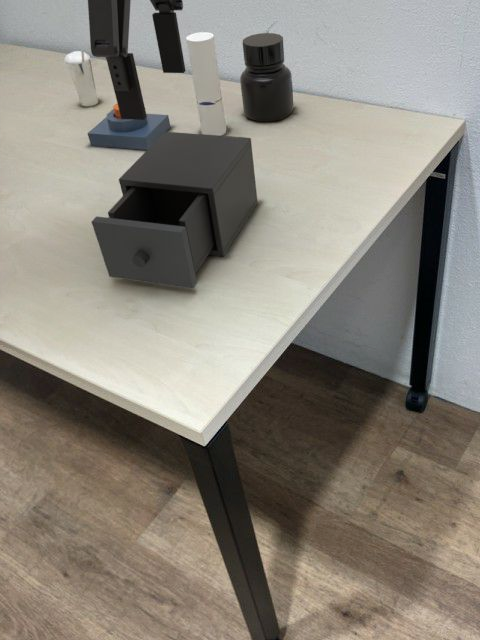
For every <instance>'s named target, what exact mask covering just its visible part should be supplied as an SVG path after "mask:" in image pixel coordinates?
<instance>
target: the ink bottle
mask: <svg viewBox="0 0 480 640" xmlns="http://www.w3.org/2000/svg"><path fill="white" fill-rule="evenodd" d="M284 47H285V46H284V36H283V35H281V34H278V33H274V32H262V33H255V34H251V35H248V36H246V37H245V38H244V39H242V51H243V62H244V65H245V69H244V70H243V71H242V72H241V74H240V76H239V77H240V79H239V81H240V91H241V99H242V107H243V108H242V110H243V114H244V116H245V117H246V118H247V119H249V120H253V121H256V122H257V121H258V122H274V121H275V122H276V121H279V120H282V119H284V118H286V117H288V116H290V114H291V113H292V112H293V110H294V93H293V92H294V91H293V78H292V76H293V75H292V71H291V69H290V68H289V67H288V66H286V65H285V48H284Z"/></svg>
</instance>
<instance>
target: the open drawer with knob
mask: <svg viewBox="0 0 480 640" xmlns="http://www.w3.org/2000/svg"><path fill="white" fill-rule="evenodd" d="M107 215H108V217H104V216H95V217H94V218H93V219H92V220H91V225H92V229H93V232H94V234H95V237H96V241H97V243H98V246H99V249H100V252H101V253H100V254H101V255H102V258H103V262H104V265H105V268H106V270H107V273H108V277H110V278H115V279H116V278H117V279H122V280H128V281H129V280H131V281H138V282H144V283H151V284H158V285H165V286H171V287H179V288H185V289H191V290H192V289H195V287H196V285H197V284H198V281H197V276H196V274H197V272H198V271H199V269H200V268H201V266H202V265H203V264H204V262H205V261H206V259H207V257H208V256H209V255H208V254H209V253H210V251H211V250H212V248H213V247H214V245H215V244H216V239H215V233H214V227H213V221H212V215H211V209H210V203H209V197H208V194H205V193H195V192H185V191H175V190H165V189H155V188H145V187H135V186H132V187H131V188H130V189H129V190H128V191H127V192H126V193H125V194H124V196H123V195H122V196H121V197H120V199H119V200H117V202H116V203H115V204H114V205H113V206H112V207H111V209H109V210H108V211H107Z"/></svg>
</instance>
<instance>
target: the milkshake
mask: <svg viewBox="0 0 480 640" xmlns="http://www.w3.org/2000/svg"><path fill="white" fill-rule="evenodd" d="M64 63H65V66H66V68H67V70H68V73H69V76H70V78H71V81H72V84H73V86H74V88H75V91H76V94H77V96H78V99H79V102H80V105H81V106H82V107H93V106H96V105H98V103H99V98H98V92H97V89H96V83H95V79H94V73H93V69H92V68H93V67H92V61H91V57H90V55H89V54H87V52H85V51H84V50H74V51H72V52H69V53H67V54H66V56H65V57H64Z"/></svg>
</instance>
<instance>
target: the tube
mask: <svg viewBox="0 0 480 640" xmlns="http://www.w3.org/2000/svg"><path fill="white" fill-rule="evenodd" d="M185 38H186V47H187V52H188V58H189V64H190V70H191V76H192V83H193V88H194V94H195V99H196V105H197V111H198V112H197V113H198V118H199V124H200V130H201V134H204V135H218V136H224V135H225V134H226V133H227V125H226V124H227V123H226V118H225V110H224V102H223V95H222V87H221V80H220V79H221V78H220V72H219V65H218V59H217V58H218V57H217V51H216V44H215V43H216V42H215V35H214V33H212V32H208V31H202V32H201V31H200V32H195V33H191V34H188V35H187V36H186V37H185Z"/></svg>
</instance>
